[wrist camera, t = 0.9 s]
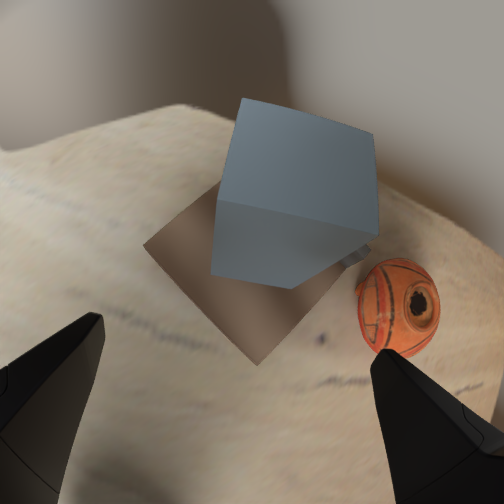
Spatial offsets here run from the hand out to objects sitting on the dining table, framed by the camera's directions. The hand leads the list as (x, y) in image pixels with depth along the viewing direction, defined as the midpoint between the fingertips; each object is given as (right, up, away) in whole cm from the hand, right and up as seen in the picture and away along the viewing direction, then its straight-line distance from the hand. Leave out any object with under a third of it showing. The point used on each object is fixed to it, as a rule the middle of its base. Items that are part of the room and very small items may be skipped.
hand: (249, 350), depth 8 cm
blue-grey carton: (0, +3, +14) cm, 14 cm away
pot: (+11, -2, +15) cm, 19 cm away
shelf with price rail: (0, +3, +15) cm, 15 cm away
